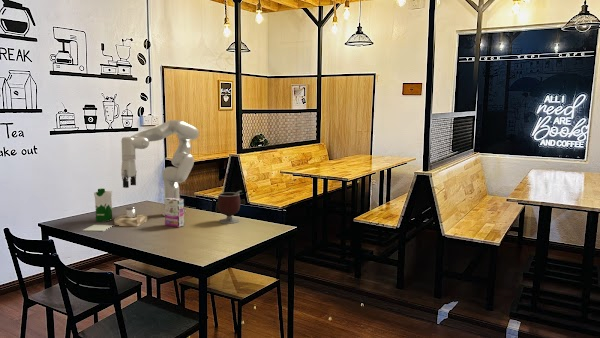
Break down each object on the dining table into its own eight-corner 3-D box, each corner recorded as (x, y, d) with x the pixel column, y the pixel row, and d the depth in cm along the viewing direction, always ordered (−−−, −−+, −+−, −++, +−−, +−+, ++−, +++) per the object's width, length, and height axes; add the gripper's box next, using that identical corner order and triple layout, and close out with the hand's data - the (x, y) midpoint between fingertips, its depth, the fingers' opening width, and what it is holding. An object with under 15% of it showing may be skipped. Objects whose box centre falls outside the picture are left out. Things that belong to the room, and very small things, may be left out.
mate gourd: (213, 222, 275) (213, 190, 273) (224, 218, 288) (224, 187, 286) (236, 225, 270) (236, 192, 268) (246, 220, 283) (246, 188, 281)
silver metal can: (137, 222, 275) (136, 206, 273) (133, 224, 270) (132, 208, 269) (129, 222, 275) (128, 206, 274) (125, 224, 270) (124, 207, 269)
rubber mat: (113, 226, 265) (113, 225, 265) (103, 231, 253) (103, 230, 253) (94, 225, 266) (94, 224, 266) (82, 230, 254) (82, 229, 254)
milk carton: (93, 221, 276) (92, 189, 273) (101, 218, 285) (100, 187, 282) (107, 222, 275) (106, 189, 273) (114, 218, 284) (113, 187, 281)
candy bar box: (184, 226, 267) (184, 198, 265) (178, 227, 262) (178, 200, 261) (170, 223, 272) (170, 197, 270) (164, 225, 268) (163, 198, 266)
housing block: (147, 220, 279) (147, 214, 278) (137, 226, 265) (137, 219, 264) (125, 220, 280) (125, 214, 279) (114, 225, 266) (114, 219, 265)
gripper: (129, 156, 276) (130, 184, 278) (115, 159, 259) (116, 188, 261) (141, 156, 276) (141, 184, 278) (128, 159, 259) (129, 188, 261)
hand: (129, 186), depth 270 cm, fingers open, 9 cm apart
